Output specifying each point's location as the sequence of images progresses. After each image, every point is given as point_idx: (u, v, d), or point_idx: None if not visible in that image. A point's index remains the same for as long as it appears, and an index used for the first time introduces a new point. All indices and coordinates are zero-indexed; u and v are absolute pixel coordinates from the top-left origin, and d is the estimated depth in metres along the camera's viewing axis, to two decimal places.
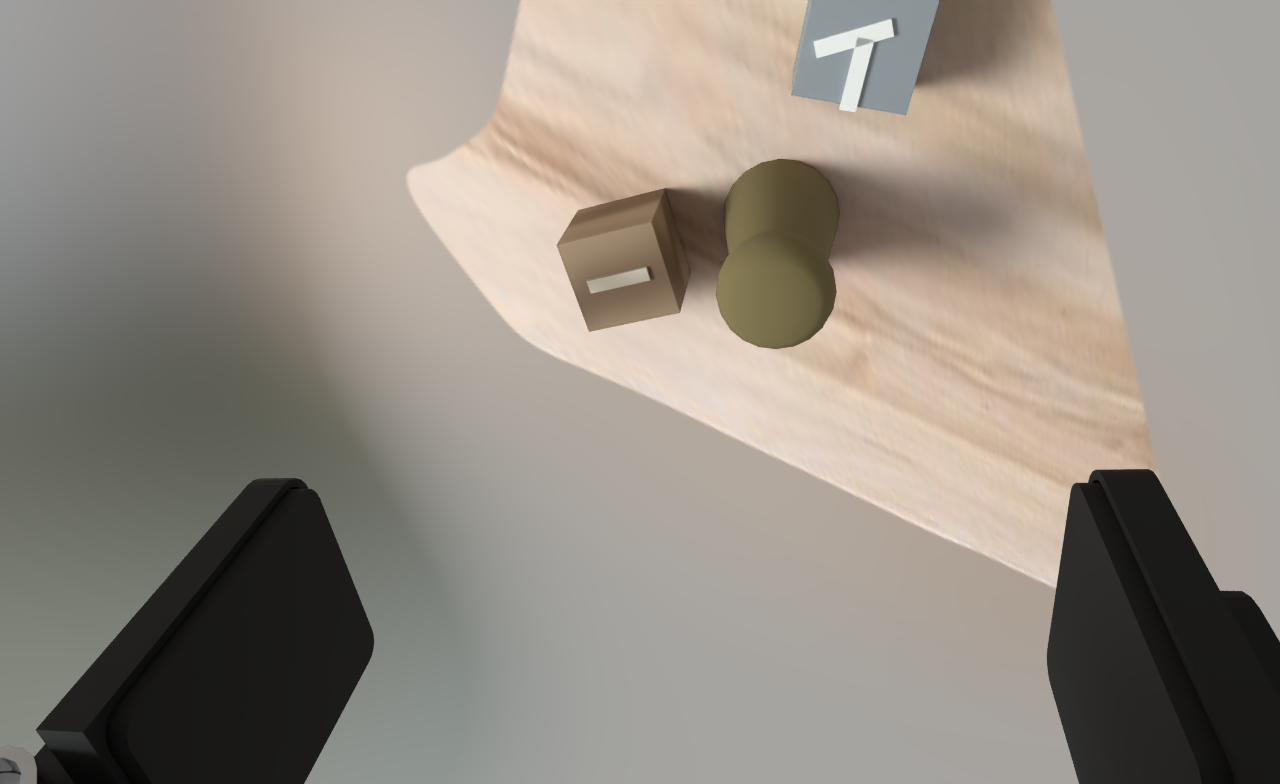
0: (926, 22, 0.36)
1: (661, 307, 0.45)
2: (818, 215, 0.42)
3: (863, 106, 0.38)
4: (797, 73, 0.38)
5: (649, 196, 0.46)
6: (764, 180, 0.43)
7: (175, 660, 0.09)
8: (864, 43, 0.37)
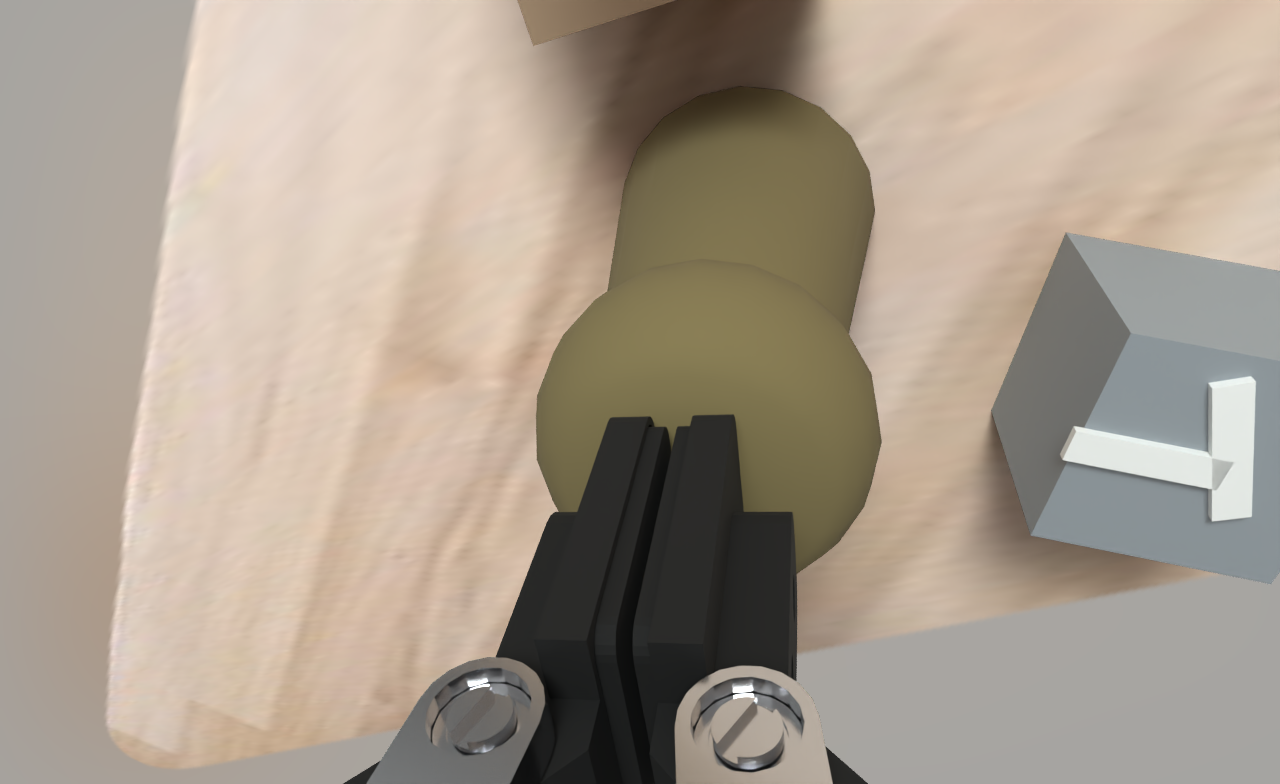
0: (1215, 563, 0.18)
1: None
2: None
3: (1068, 467, 0.18)
4: (1181, 344, 0.16)
5: None
6: (863, 215, 0.19)
7: (625, 579, 0.09)
8: (1215, 474, 0.17)
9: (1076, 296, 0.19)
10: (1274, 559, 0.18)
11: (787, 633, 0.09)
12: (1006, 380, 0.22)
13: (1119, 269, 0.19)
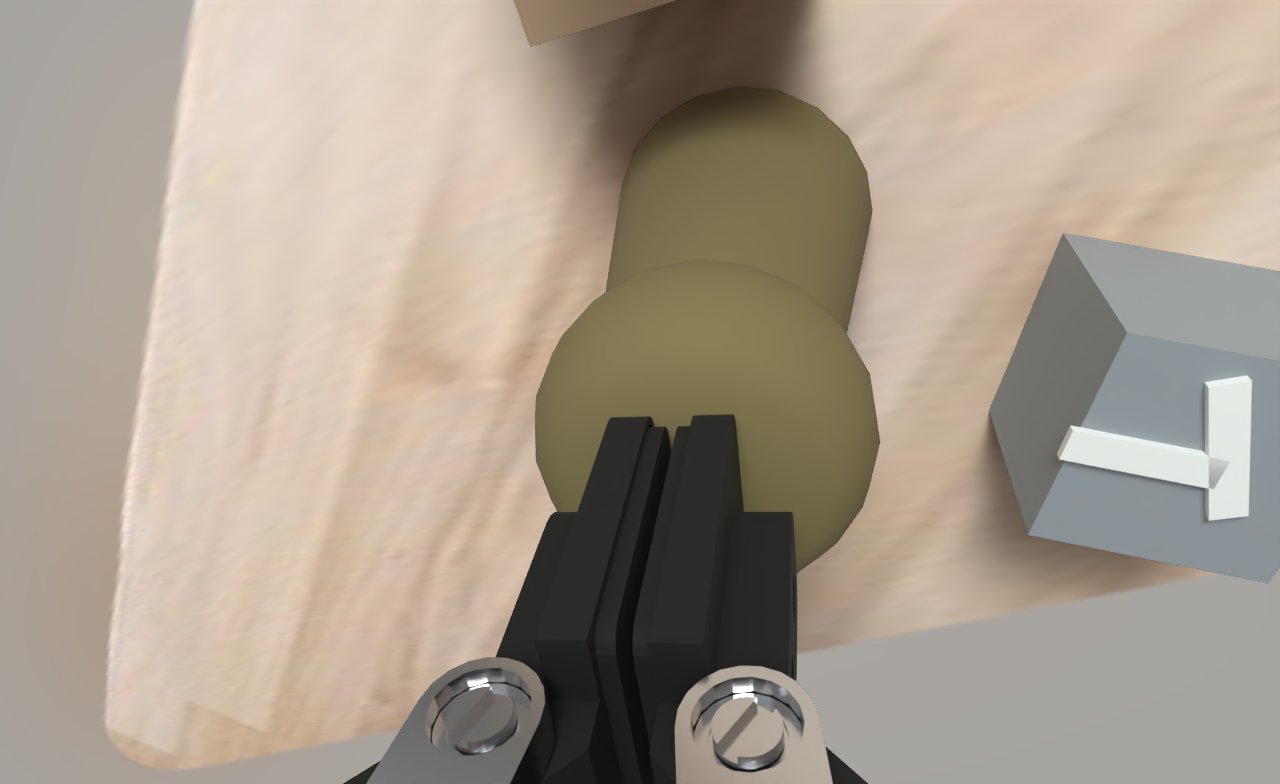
0: (1212, 563, 0.18)
1: None
2: None
3: (1065, 466, 0.18)
4: (1177, 343, 0.16)
5: None
6: (860, 215, 0.19)
7: (625, 579, 0.09)
8: (1212, 473, 0.17)
9: (1073, 296, 0.19)
10: (1271, 558, 0.18)
11: (787, 633, 0.09)
12: (1004, 380, 0.22)
13: (1116, 269, 0.19)
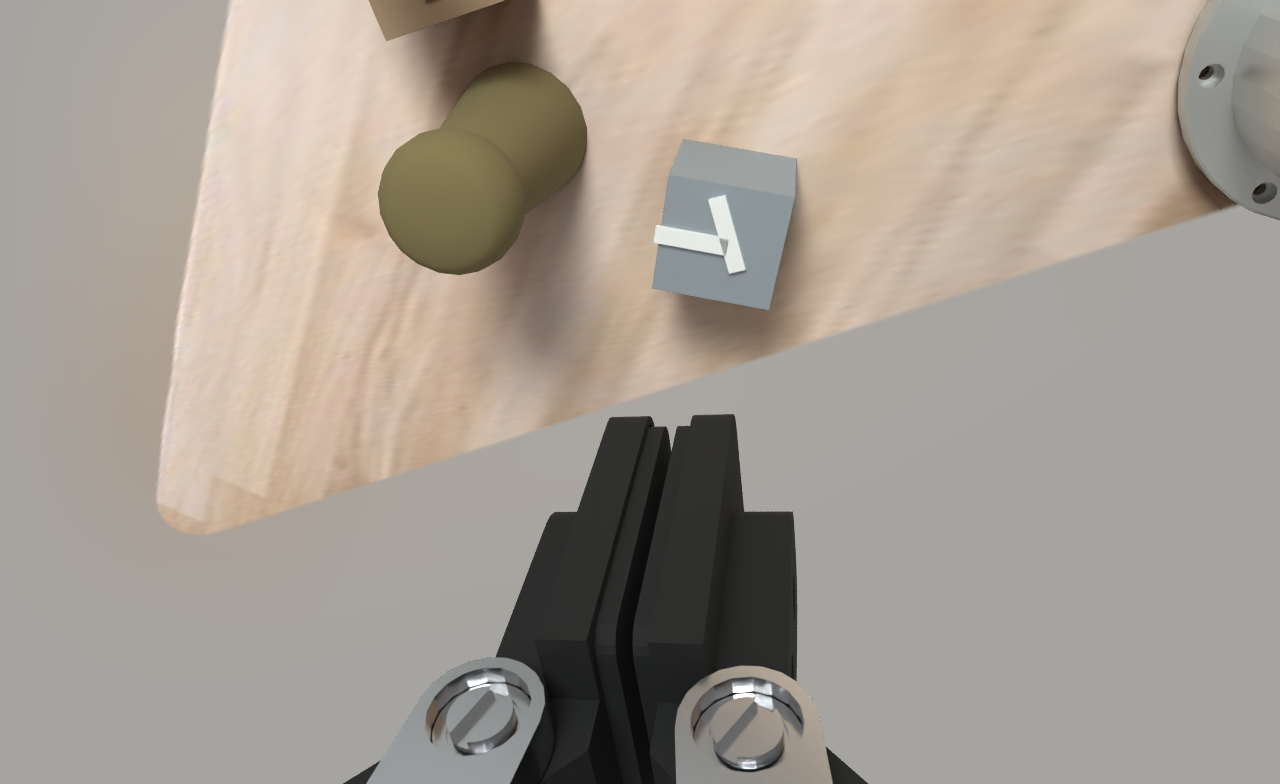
0: (740, 299, 0.37)
1: (387, 14, 0.33)
2: (536, 204, 0.37)
3: (659, 248, 0.36)
4: (692, 179, 0.35)
5: None
6: (564, 126, 0.37)
7: (625, 579, 0.09)
8: (722, 246, 0.36)
9: None
10: (766, 295, 0.37)
11: (787, 633, 0.09)
12: None
13: (695, 153, 0.37)
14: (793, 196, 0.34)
